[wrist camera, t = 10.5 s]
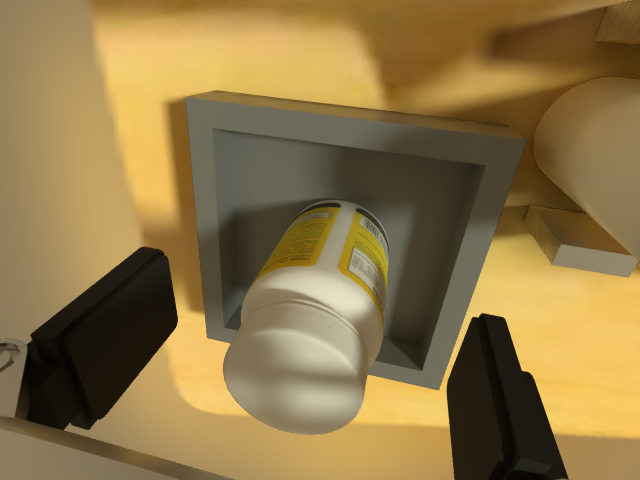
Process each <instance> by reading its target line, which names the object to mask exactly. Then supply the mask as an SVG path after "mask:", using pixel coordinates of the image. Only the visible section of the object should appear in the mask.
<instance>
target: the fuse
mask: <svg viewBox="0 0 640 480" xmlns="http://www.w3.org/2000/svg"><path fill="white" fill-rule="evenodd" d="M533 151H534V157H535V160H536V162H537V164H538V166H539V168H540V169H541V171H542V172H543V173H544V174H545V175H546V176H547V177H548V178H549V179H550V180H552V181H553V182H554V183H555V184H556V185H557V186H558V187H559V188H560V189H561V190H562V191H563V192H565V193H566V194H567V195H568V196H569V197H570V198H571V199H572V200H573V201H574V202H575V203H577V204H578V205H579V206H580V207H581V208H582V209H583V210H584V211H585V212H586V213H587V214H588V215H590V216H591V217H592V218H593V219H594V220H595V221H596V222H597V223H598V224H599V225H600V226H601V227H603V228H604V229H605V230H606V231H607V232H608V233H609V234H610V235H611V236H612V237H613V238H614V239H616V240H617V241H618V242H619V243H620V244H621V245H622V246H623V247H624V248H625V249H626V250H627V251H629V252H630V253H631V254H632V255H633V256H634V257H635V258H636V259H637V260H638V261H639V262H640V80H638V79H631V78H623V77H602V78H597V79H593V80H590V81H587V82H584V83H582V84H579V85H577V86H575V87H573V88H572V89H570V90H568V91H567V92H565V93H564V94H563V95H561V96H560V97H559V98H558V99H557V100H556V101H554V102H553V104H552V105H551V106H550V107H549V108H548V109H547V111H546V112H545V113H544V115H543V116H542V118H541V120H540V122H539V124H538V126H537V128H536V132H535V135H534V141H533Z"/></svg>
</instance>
